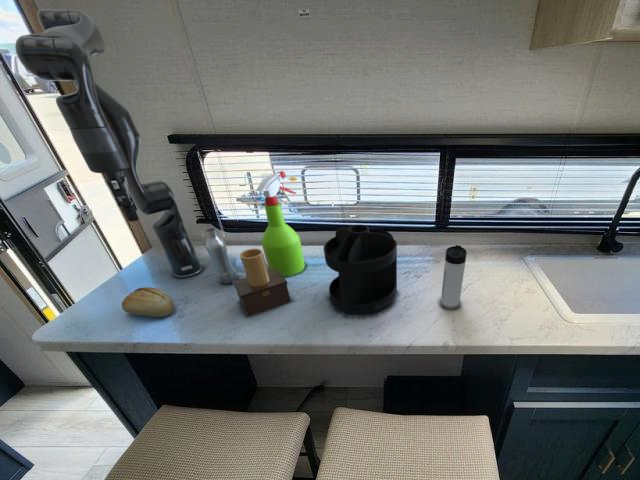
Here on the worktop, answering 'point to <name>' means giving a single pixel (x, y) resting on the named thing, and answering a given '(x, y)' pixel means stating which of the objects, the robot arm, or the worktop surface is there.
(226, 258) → the plastic bottle
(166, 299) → the bread roll
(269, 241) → the spray bottle
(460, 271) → the travel mug
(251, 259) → the cup
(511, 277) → the worktop surface
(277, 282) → the box
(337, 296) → the container
